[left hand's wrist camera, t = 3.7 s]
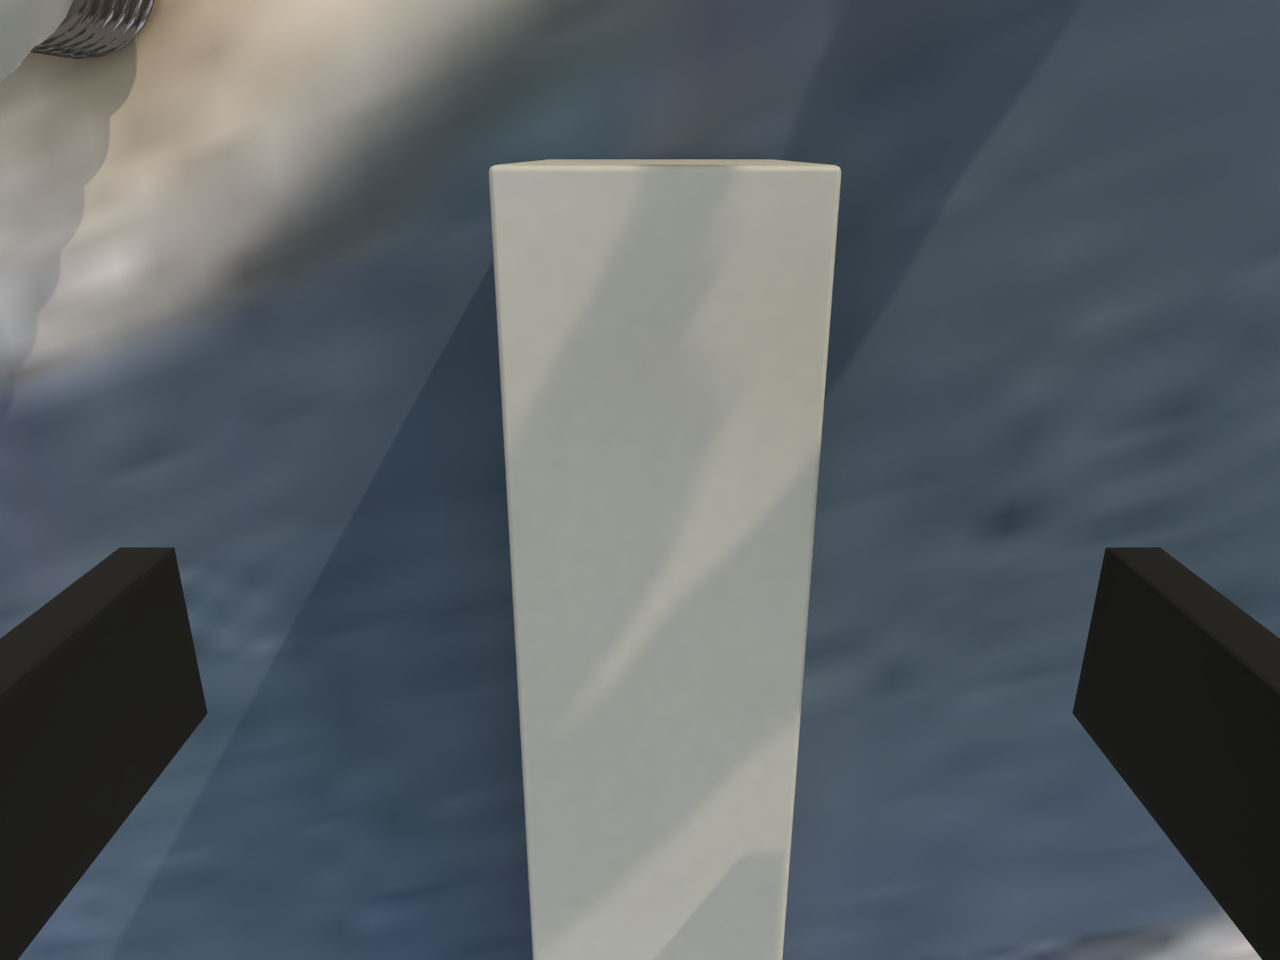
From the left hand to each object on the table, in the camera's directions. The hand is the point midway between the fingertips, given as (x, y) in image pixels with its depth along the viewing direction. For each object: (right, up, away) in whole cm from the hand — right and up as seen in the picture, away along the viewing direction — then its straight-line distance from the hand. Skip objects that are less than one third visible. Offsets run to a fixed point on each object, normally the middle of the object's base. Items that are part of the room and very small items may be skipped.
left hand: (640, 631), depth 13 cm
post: (0, -16, +16) cm, 22 cm away
